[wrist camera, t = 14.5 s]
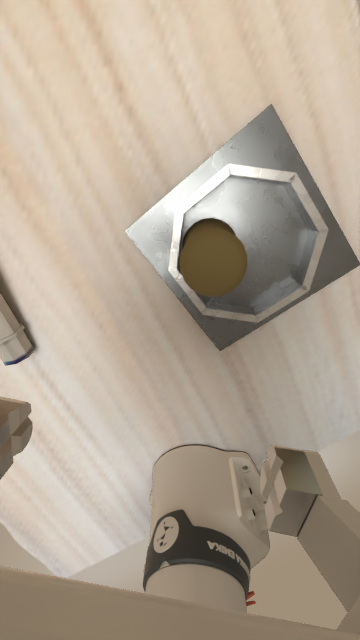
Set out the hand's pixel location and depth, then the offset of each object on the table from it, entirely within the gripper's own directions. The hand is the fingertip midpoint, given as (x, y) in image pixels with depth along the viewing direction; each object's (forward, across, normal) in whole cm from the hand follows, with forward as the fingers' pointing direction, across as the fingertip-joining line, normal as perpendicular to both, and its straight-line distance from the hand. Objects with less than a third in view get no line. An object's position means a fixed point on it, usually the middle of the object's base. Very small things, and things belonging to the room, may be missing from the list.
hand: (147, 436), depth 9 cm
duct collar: (+24, -5, -4) cm, 25 cm away
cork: (+24, -2, -4) cm, 24 cm away
